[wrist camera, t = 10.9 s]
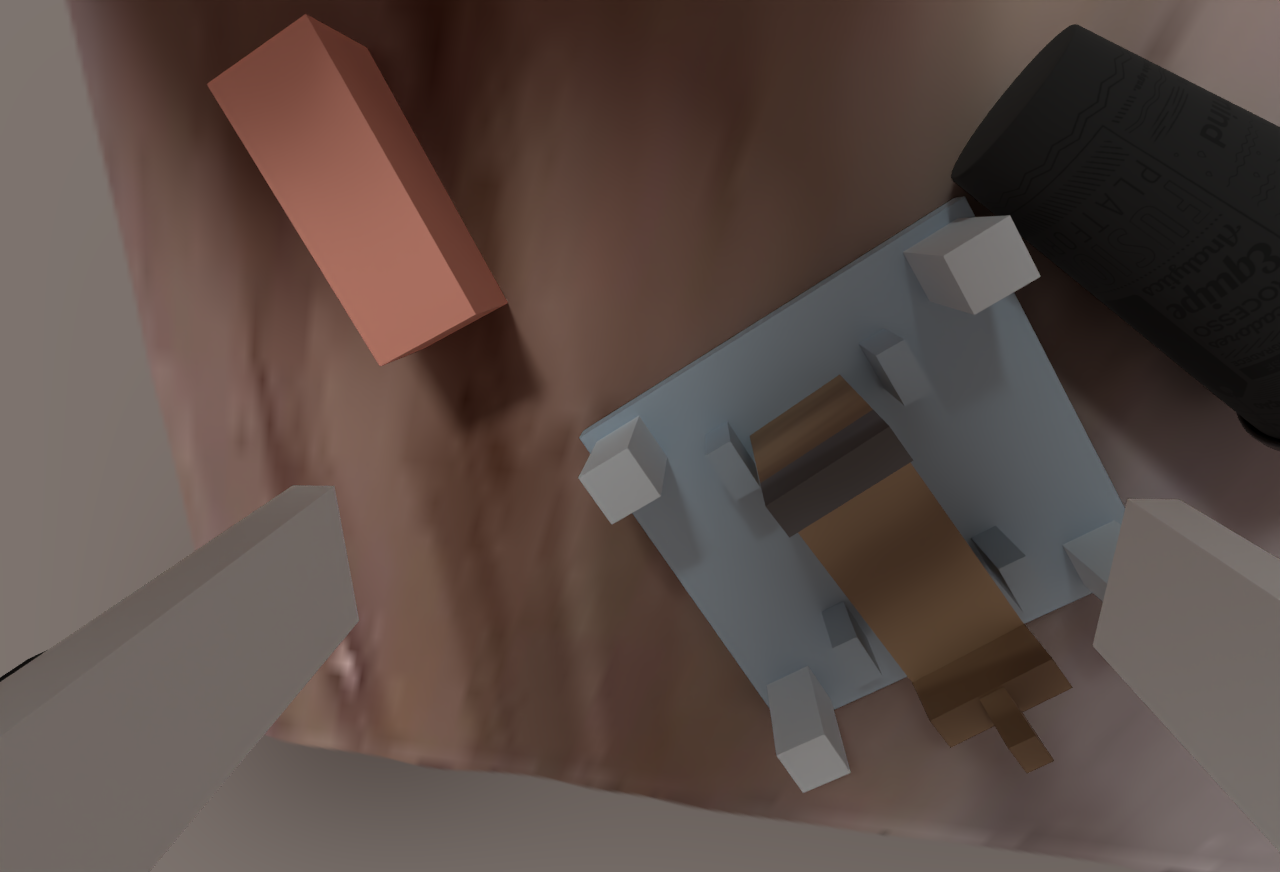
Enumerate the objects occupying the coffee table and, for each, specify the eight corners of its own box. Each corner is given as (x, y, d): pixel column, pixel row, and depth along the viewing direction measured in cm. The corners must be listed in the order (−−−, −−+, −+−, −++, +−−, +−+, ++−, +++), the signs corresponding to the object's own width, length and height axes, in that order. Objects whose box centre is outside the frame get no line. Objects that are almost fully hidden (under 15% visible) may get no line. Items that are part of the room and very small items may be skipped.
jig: (583, 430, 27) (557, 473, 22) (954, 197, 23) (1019, 189, 18) (783, 715, 30) (798, 807, 25) (1137, 552, 26) (1233, 624, 21)
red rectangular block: (284, 107, 24) (206, 84, 21) (370, 49, 24) (305, 13, 20) (426, 347, 27) (380, 366, 23) (509, 302, 26) (475, 314, 22)
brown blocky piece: (980, 574, 26) (1113, 736, 18) (891, 624, 27) (975, 800, 19) (839, 374, 24) (912, 449, 16) (749, 435, 25) (772, 537, 17)
